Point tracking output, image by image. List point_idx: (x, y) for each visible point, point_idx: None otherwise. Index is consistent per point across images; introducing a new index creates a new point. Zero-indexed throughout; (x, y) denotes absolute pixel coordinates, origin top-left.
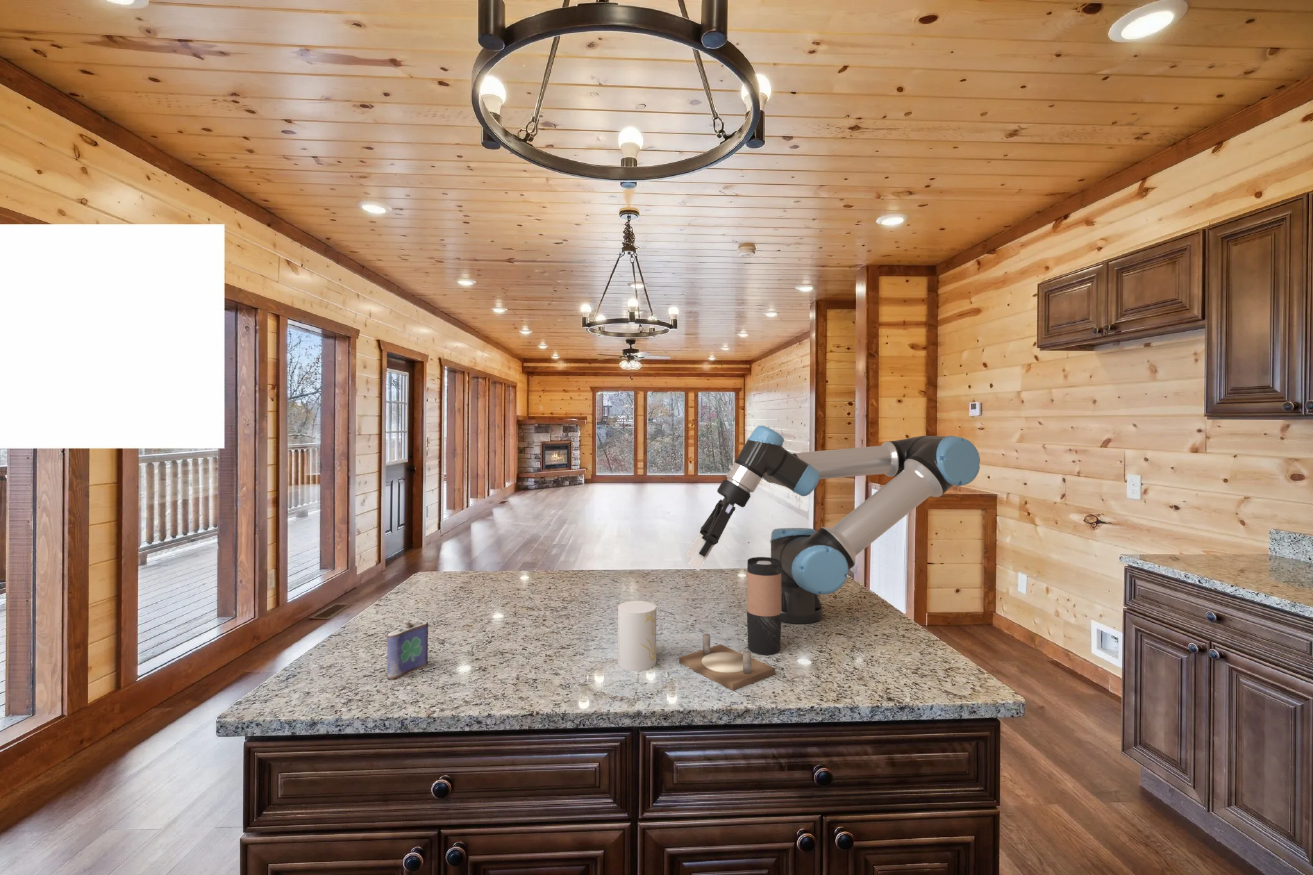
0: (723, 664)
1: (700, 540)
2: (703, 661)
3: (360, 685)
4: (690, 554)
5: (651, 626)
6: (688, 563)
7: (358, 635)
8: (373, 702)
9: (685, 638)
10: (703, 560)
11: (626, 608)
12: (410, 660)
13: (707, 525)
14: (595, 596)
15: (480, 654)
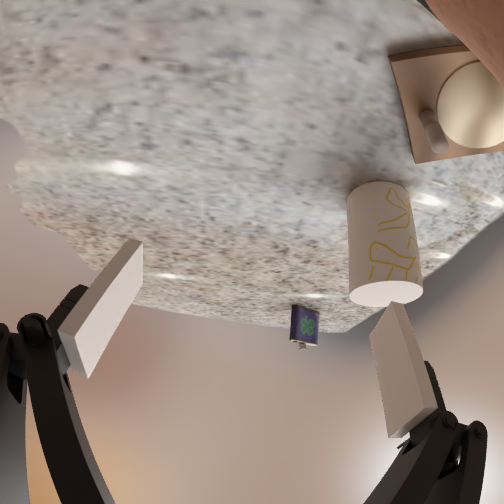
0: (491, 120)
1: (97, 337)
2: (460, 141)
3: (321, 318)
4: (135, 281)
5: (419, 259)
6: (370, 337)
7: (225, 317)
8: (352, 315)
9: (285, 102)
10: (413, 341)
11: (385, 302)
12: (307, 317)
13: (86, 440)
14: (62, 207)
15: (284, 289)
